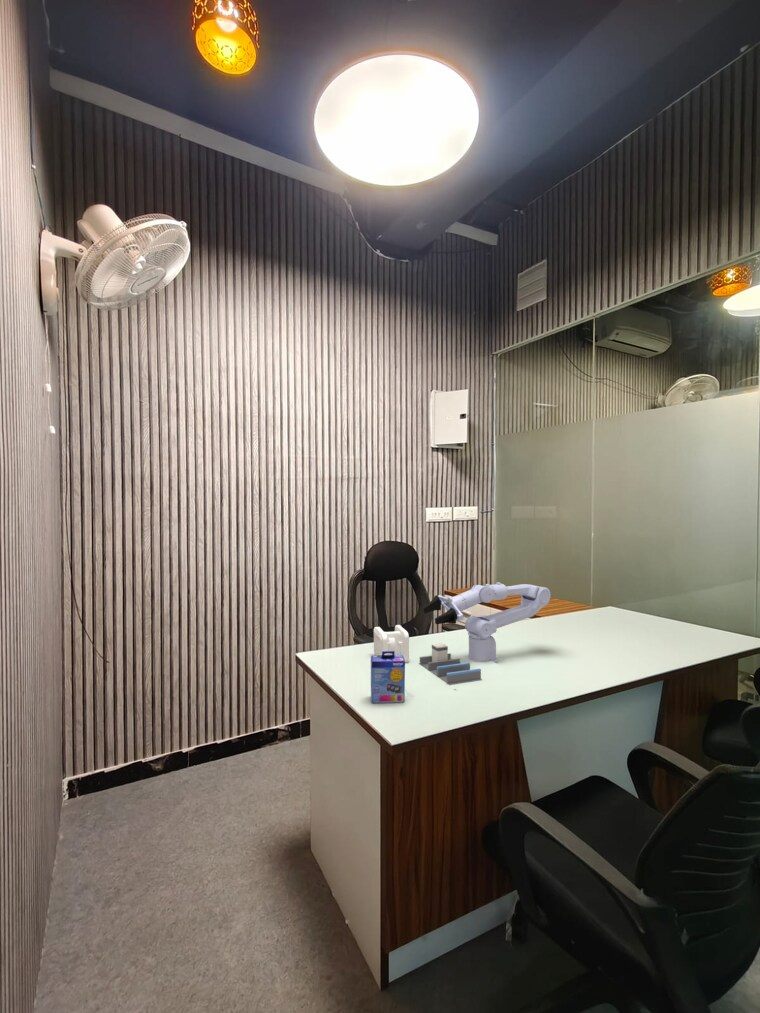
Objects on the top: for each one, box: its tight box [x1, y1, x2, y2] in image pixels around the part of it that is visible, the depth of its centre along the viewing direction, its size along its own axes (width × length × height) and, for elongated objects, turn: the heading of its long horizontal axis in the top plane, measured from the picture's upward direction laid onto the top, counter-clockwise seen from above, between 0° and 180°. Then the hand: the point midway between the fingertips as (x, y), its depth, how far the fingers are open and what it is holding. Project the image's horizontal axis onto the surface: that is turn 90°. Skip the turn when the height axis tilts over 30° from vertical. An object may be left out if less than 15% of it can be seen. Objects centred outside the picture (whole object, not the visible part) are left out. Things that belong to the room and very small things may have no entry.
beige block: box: [431, 642, 449, 662], centre depth 159 cm, size 4×4×7 cm
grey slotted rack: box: [418, 652, 483, 686], centre depth 153 cm, size 12×22×4 cm, turn 21°
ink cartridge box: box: [370, 651, 406, 704], centre depth 132 cm, size 10×6×14 cm, turn 95°
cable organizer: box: [373, 624, 410, 663], centre depth 167 cm, size 15×11×12 cm
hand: (429, 615), depth 159 cm, fingers open, 7 cm apart
